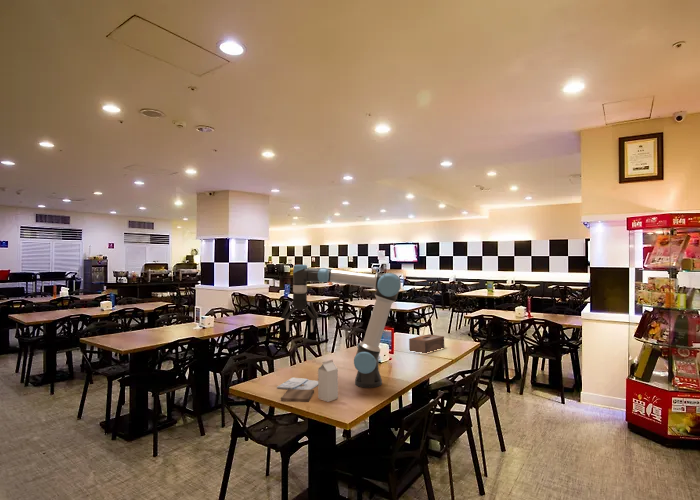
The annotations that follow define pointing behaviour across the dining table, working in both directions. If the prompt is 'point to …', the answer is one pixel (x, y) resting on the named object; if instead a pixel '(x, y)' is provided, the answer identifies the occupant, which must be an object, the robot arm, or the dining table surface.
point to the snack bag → (298, 384)
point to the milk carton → (328, 381)
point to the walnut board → (297, 395)
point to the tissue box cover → (426, 343)
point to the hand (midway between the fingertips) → (299, 331)
